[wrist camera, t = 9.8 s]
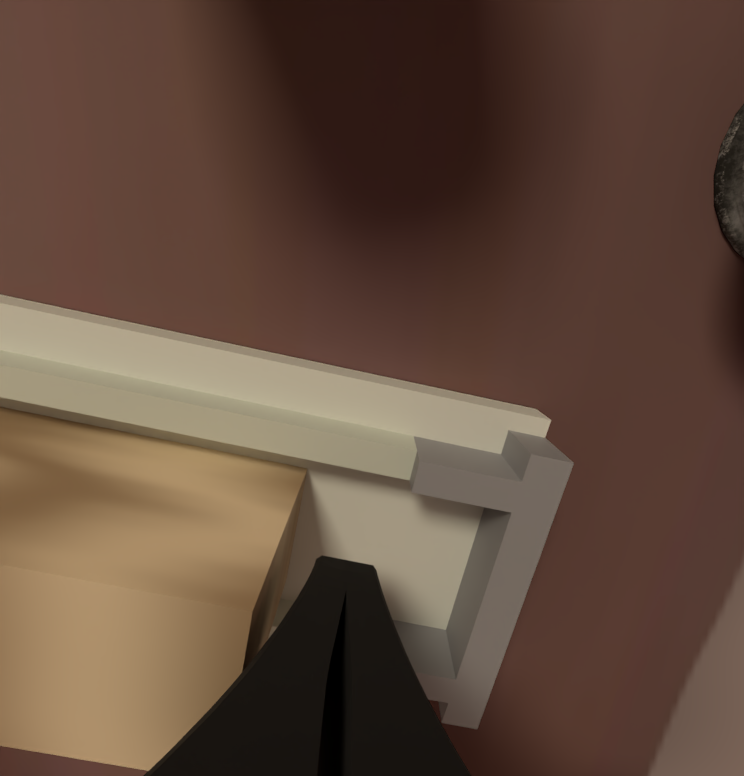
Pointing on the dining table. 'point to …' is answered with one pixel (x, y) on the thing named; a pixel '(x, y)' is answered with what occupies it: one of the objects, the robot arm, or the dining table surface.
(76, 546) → the tan wooden block
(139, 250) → the dining table surface
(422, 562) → the cream rectangular tray
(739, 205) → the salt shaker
